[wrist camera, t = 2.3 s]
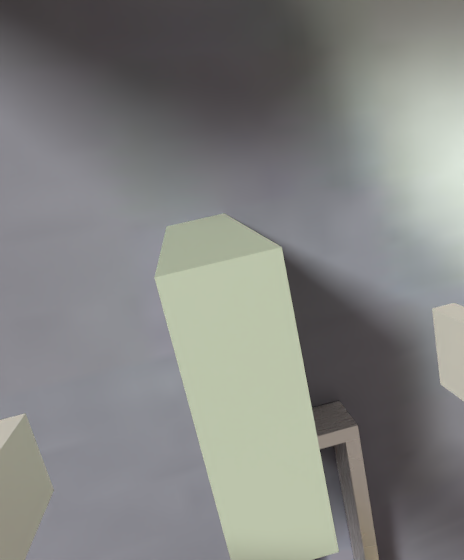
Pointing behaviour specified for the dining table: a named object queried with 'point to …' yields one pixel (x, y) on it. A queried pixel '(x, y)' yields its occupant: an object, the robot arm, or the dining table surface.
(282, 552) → the pale green rectangular block
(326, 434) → the grey rectangular frame
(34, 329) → the dining table surface
